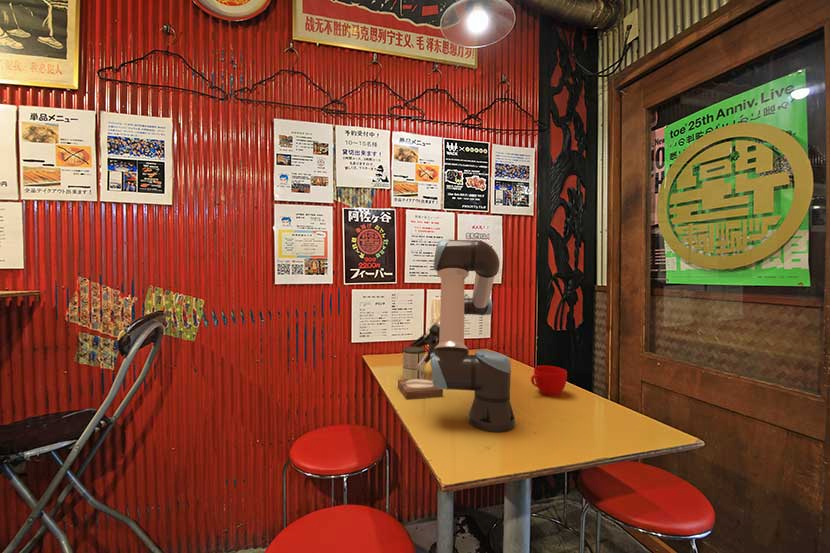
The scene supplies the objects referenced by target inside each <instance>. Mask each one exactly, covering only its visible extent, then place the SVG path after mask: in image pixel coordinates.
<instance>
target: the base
mask: <svg viewBox="0 0 830 553" xmlns="http://www.w3.org/2000/svg"><path fill="white" fill-rule="evenodd" d="M397 388H398V390H399V391H400V392H401V394H402V395H403V397H404V398H405V399H406V400H415V399H417V400H418V399H425V398H426V399H428V398H429V399H430V398H439V397H440V398H441V397H443V396H444V389H439V388H436V387H435V386H434V385H433V380H432V377H428V378H427V377H424V378H423V379H407V380H403V379H398V380H397Z"/></svg>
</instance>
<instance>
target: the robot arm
mask: <svg viewBox="0 0 830 553" xmlns="http://www.w3.org/2000/svg"><path fill="white" fill-rule="evenodd" d="M433 258H434V260H433V270H434V271H436V275H437V276H438V277H439V278H440V304H439V305H440V307H439V308H440V309H439V310H440V311H439V313H440V314H439V317H438V318H437V319H436V320H435V321H434V324H433V325H432V326H431V327H430V328H429V329H428V331H429V333H428V334H427V333H426V332H424V333H422V335H421V336H420V337H418V338H417V339H416V340H414V341H413V342H412V343H411V344H409V347H422V348H423V346H427V345H428V352H426V354H425V356H424V358H423V359H422V360H421V361H420V363H419V364H418V366H419V367H420V368H421V369H423V367H424V368H425V366H426V365H427V364H428V363H429V362H430V369H431V378H432V380H433V385H434V386H435V387H436V388H439V389H443V390H446V391H451V390H453V391H455V390H456V391H473V392H474V393H473V394H474V398H473V400H472V402H471V405H470V409H469V412H468V423H469V424H470V425H472V426H473V427H475V428H477V429H479V430H482V431H485V432H486V431H487V432H493V433H495V432H496V433H502V432H509V431H511V430H513V429H514V428H515V426H516V424H515V423H516V417H515V414H514V410H513V408H512V403H511V373H512V367H511V366H512V365H511V364H512V363H511V360H510V358H509V357H508V356H507V355H505V354H503V353H500V352H496V351H493V350H489V349H478V350H476V351H475V352H474V354H470V353H469V348H468V347H467V345H465V315H470V316H471V315H473V316H475V315H476V316H477V315H478V316H490V315H491V314H492V313H493V301H492V299H491V293H492V289H493V284H494V279H495V277H496V276H497V275H498V274H499V270H500V257H499V255H498V254H497V251H496V250H495V249H494V248H493V247H492V245H490V244H489V243H487V242H486V241H483V240H480V239H479V240H478V239H475V240H473V239H472V240H471V239H441V240H439V241H438V242H437V244H436V248H435V253H434V257H433ZM469 272H475V276H474V277H475V278H474V282H473V291H472V297H470V298H468V297H465V279H467V278H468V277H469V274H470V273H469Z"/></svg>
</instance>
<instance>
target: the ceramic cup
mask: <svg viewBox="0 0 830 553" xmlns="http://www.w3.org/2000/svg"><path fill="white" fill-rule="evenodd" d="M567 379H568V371H567V369H564V368H562V367H558V366H553V365H537V366H536V365H535V367H534V368H533V374H532V375H531V377H530V381H531V383H532V385H533V386H534V387H536V388H537V389H538V390H539V391H540V392H542V393H543V395H544V394H545V396H548V397H557V396H559V395H560V394H561V393H562V392H563V391H564V389H565V387H566V384H567ZM542 393H541V394H542Z"/></svg>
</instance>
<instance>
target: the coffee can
mask: <svg viewBox="0 0 830 553" xmlns="http://www.w3.org/2000/svg"><path fill="white" fill-rule="evenodd" d="M425 353H426V348H424V347H423V346H422V347H411V346H406V347H403V348H402V379H401V380H407V379H423V378H425V366H424V367H423V369H421V368H420V367H419V366H418V364H419V363H420V361H421V360H422V359H423V358H424V356H425V355H426V354H425Z"/></svg>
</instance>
